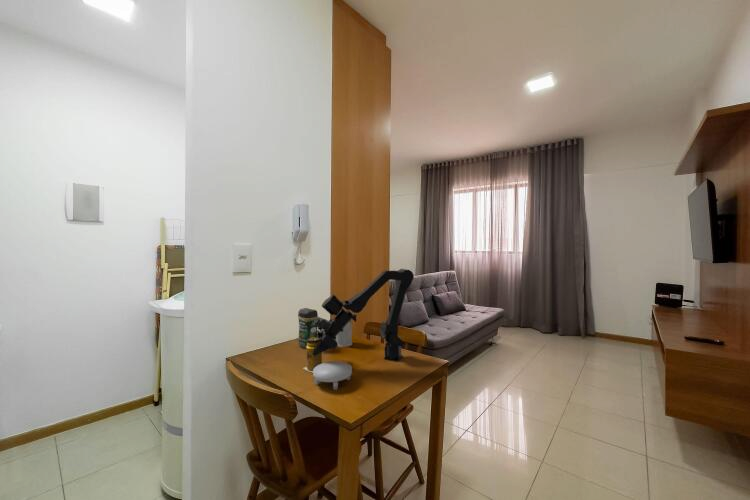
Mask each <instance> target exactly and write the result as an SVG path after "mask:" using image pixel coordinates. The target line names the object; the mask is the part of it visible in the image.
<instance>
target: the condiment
mask: <svg viewBox="0 0 750 500" xmlns="http://www.w3.org/2000/svg"><path fill="white" fill-rule="evenodd" d="M319 343H320V338H318V337H312V338H309V339H308V340H307V347H306V348H305V351H306V366H305V367H302V369H303V370H305V371H307V372H309V373H312V374H313V369H314V368H315V367H316V366H318V365H320V364H323V355H322V354H323V352H322V353H319V354H317V355H315V356H314V355H313V352H314V351H315V349H316V348H317V346H318V345H319Z"/></svg>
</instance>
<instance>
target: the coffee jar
mask: <svg viewBox="0 0 750 500" xmlns="http://www.w3.org/2000/svg"><path fill="white" fill-rule="evenodd" d="M316 316H317V317H319V314H318V310H316V309H311V308H309V307H308V308H307V307H304V308H300V309H299V310H298V312H297V318H298V346H299V347H301V348H302V349H306V347H307V340H308V339H309V338H312V337H317V336H318V332H317V331H318V327H316V326H314V324H313V323H314V321H315V319H316Z"/></svg>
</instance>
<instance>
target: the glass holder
mask: <svg viewBox="0 0 750 500" xmlns="http://www.w3.org/2000/svg"><path fill="white" fill-rule="evenodd" d="M335 340H336V341H337V344H338V346H337V347H339V348H342V347H343V348H346V347H351V346H352V345H353V341H352V319H351V320H350V321H349V323H348V324H347V325H346V326H345V327H344V328H343V332H340V333H339V334H338V335H337V336H336V339H335Z"/></svg>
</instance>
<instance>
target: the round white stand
mask: <svg viewBox="0 0 750 500" xmlns="http://www.w3.org/2000/svg"><path fill="white" fill-rule="evenodd" d="M322 363H323V362H322ZM352 374H353V367H352V366H351V364H349V363H348V362H343V361H328V362H324V363H323V364H320V365H318V366H316V367H315V368H314V369H313V373H312V377H313V379H314V385H315V386H317V385H320V382H322V383H332V389H333V390H335V391H337V390H338V389H339V382H342V381H344V380H346V381H349V380H351V375H352Z"/></svg>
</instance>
